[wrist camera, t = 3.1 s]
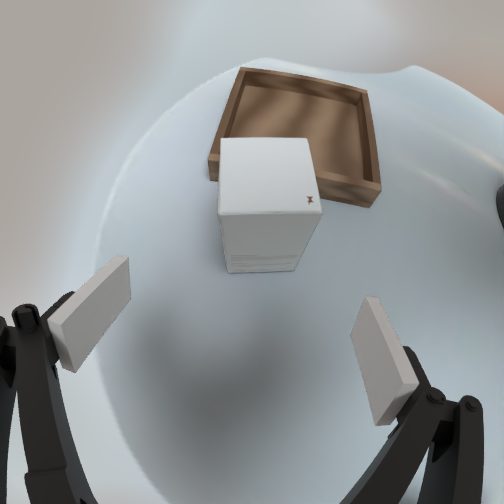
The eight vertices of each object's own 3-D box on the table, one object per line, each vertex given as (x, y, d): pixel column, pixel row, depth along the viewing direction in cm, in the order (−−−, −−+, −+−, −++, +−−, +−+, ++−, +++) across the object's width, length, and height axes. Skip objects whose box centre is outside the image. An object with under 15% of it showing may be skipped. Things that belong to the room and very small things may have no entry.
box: (360, 107, 43) (366, 90, 39) (369, 208, 35) (381, 190, 31) (240, 86, 43) (240, 66, 39) (210, 180, 36) (207, 159, 32)
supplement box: (289, 211, 34) (310, 136, 23) (294, 272, 32) (326, 214, 20) (224, 212, 34) (219, 134, 22) (224, 274, 31) (216, 215, 20)
